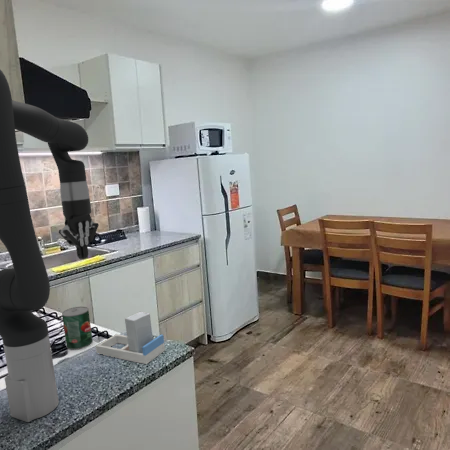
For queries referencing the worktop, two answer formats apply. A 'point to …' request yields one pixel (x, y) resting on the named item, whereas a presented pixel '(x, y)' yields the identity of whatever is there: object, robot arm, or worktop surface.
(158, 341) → the two-compartment tray
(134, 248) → the worktop surface
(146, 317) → the skincare box
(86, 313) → the canned tomato
